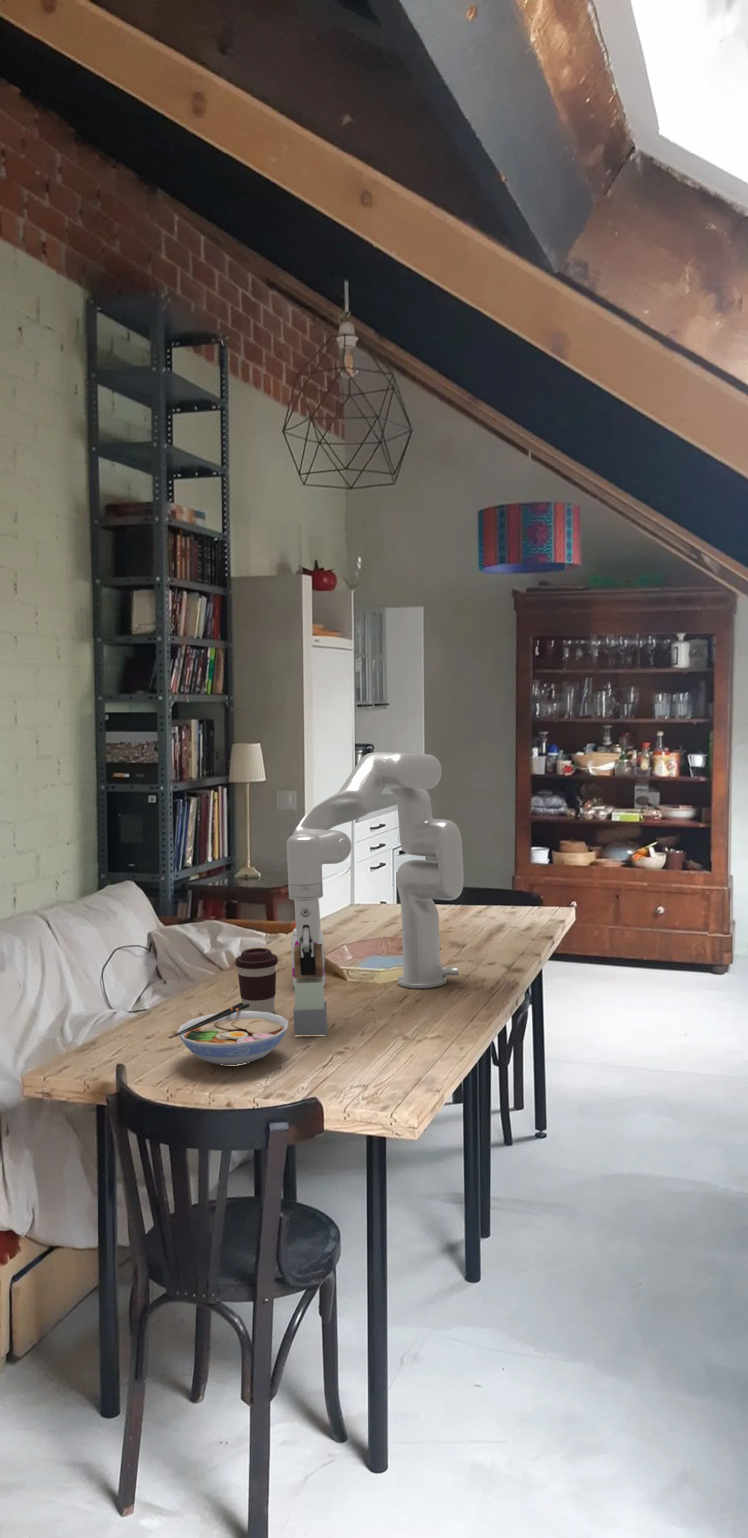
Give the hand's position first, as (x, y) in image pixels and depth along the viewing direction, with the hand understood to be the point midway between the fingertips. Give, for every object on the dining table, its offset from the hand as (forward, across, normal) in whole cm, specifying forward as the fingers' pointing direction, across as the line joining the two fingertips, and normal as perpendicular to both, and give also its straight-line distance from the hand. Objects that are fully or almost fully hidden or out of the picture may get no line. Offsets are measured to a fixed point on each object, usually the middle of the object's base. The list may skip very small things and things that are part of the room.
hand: (309, 970), depth 249 cm
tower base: (+14, 0, 0) cm, 14 cm away
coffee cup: (+14, +16, +13) cm, 25 cm away
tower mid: (+8, 0, 0) cm, 8 cm away
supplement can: (+14, +38, +2) cm, 41 cm away
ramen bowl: (+14, -18, +15) cm, 27 cm away
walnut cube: (+1, 0, 0) cm, 1 cm away
